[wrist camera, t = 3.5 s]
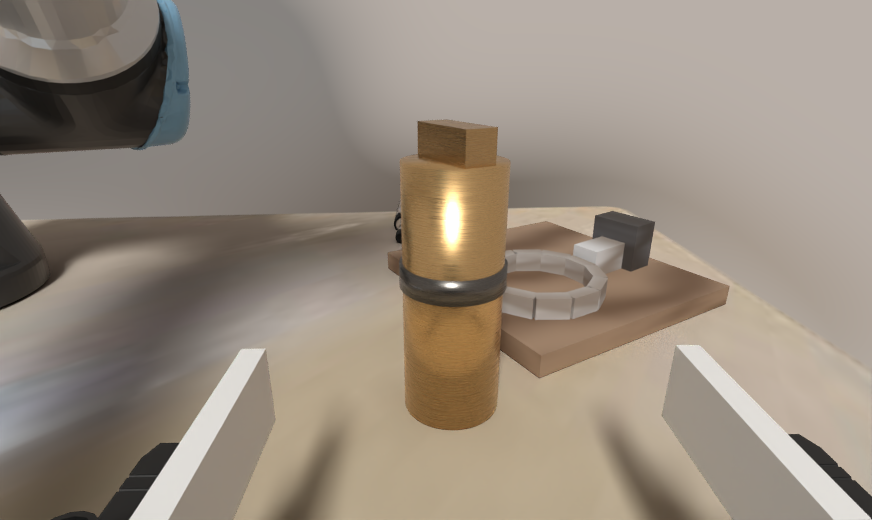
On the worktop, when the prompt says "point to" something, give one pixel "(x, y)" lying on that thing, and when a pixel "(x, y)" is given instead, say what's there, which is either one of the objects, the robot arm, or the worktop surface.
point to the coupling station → (589, 291)
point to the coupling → (453, 272)
